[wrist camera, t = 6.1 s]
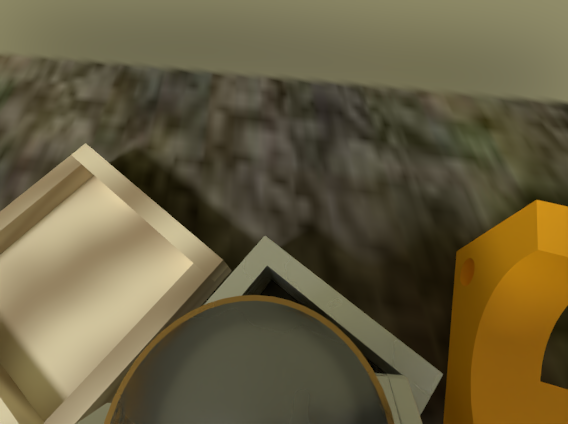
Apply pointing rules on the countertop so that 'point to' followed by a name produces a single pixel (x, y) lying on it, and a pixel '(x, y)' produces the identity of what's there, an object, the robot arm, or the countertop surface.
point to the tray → (88, 288)
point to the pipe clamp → (508, 321)
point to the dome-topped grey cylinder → (250, 370)
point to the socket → (330, 314)
